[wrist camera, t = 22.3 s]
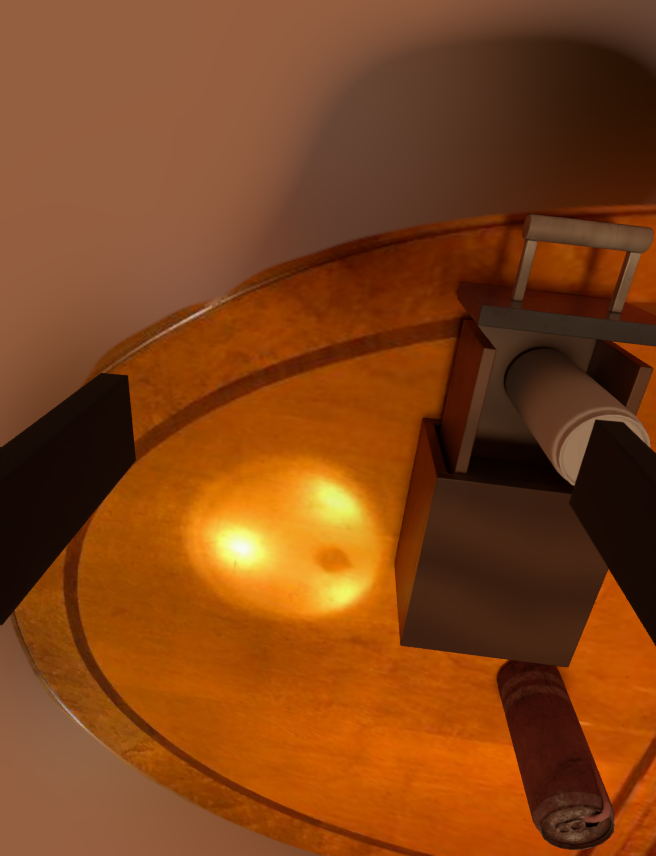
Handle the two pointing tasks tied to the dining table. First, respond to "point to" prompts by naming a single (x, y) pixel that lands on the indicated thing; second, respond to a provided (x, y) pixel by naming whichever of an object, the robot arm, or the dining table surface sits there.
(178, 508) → the dining table surface
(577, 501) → the robot arm
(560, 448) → the beverage can
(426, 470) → the cabinet
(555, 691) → the dark brown cylinder
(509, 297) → the drawer
